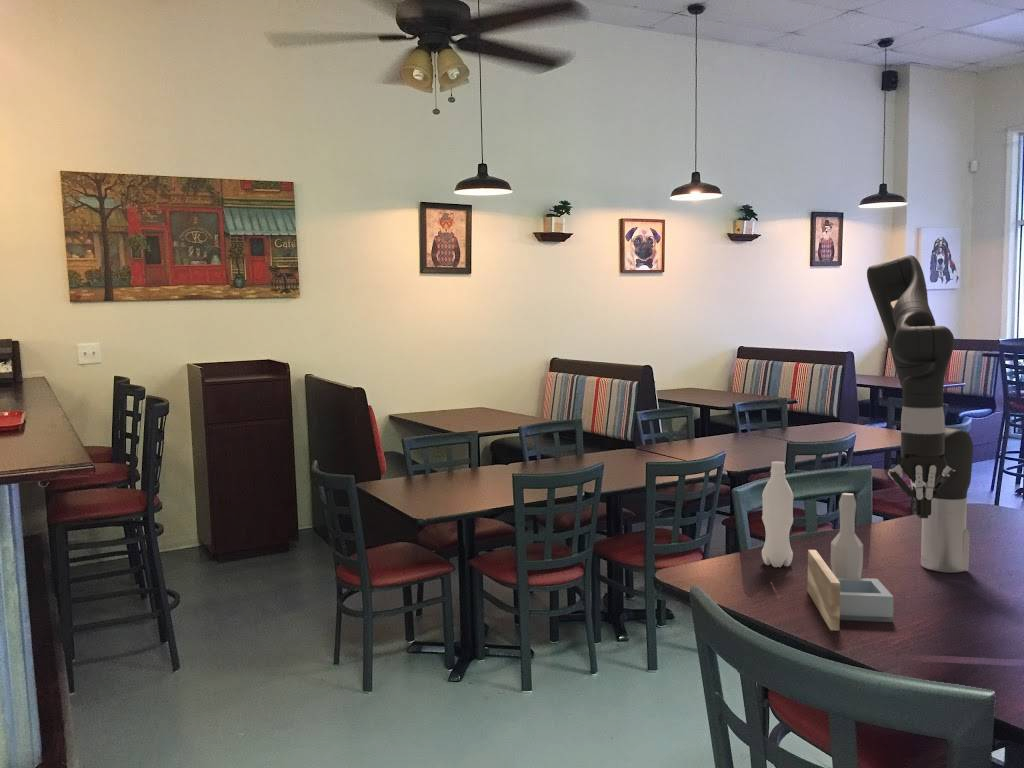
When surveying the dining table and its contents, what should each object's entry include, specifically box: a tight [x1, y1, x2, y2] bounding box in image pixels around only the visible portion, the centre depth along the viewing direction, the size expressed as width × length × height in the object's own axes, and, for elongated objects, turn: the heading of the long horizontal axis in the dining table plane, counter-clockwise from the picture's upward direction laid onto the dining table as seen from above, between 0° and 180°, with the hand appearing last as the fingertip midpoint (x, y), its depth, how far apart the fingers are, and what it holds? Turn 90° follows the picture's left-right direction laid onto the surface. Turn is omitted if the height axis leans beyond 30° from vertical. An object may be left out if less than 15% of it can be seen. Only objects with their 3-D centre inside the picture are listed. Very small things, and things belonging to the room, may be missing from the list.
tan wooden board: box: [807, 549, 841, 631], centre depth 161 cm, size 22×22×10 cm
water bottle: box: [761, 460, 794, 568], centre depth 195 cm, size 7×7×25 cm
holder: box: [836, 577, 895, 623], centre depth 161 cm, size 11×11×5 cm
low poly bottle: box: [830, 492, 864, 578], centre depth 172 cm, size 6×6×22 cm
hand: (922, 517), depth 158 cm, fingers closed
